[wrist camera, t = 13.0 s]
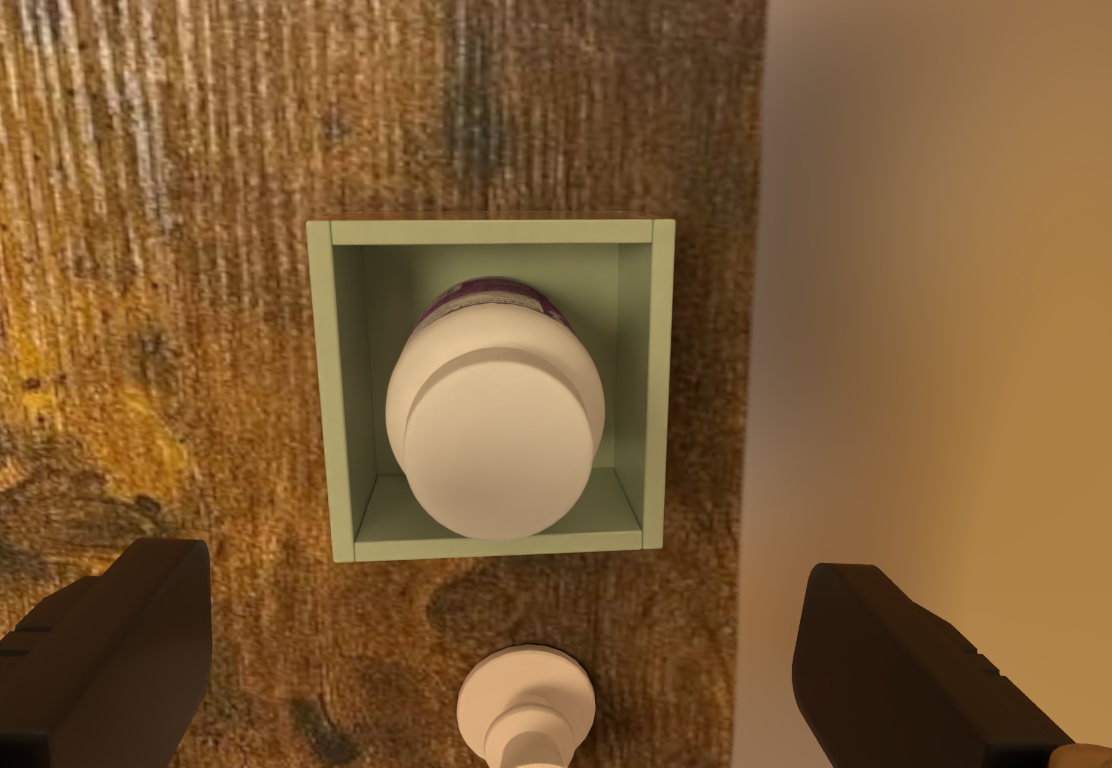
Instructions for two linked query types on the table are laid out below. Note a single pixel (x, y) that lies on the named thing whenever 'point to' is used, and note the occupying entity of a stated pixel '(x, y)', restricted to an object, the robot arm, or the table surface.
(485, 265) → the green open box
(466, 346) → the pill bottle
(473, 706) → the candle
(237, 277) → the table surface
